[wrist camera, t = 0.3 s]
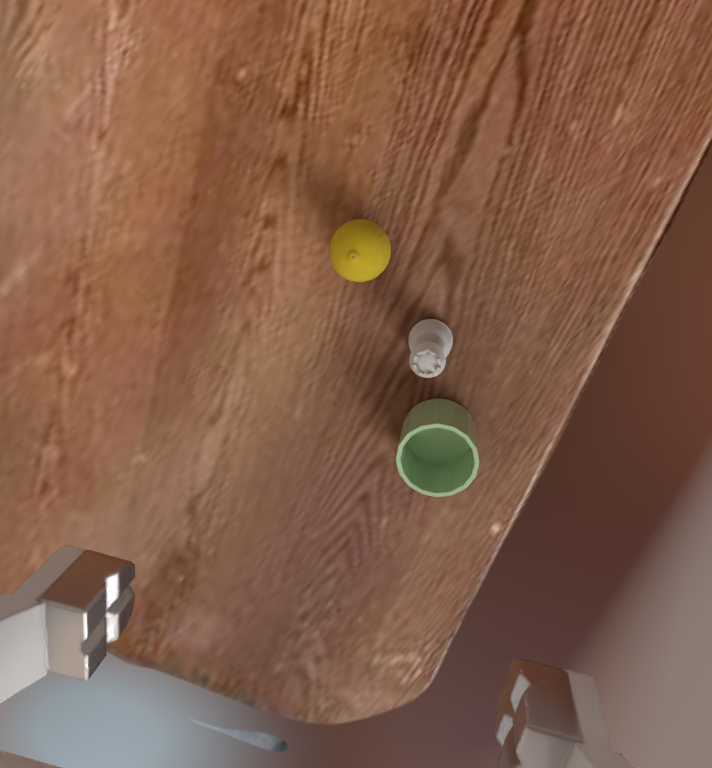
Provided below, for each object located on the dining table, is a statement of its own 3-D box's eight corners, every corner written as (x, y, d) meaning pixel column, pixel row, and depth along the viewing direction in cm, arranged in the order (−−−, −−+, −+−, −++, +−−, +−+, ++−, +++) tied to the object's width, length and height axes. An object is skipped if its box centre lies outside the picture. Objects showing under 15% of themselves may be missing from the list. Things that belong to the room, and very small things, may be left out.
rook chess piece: (451, 315, 57) (450, 337, 49) (454, 358, 58) (454, 385, 51) (406, 319, 58) (398, 342, 50) (411, 361, 59) (404, 389, 52)
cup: (409, 391, 60) (404, 416, 54) (484, 407, 60) (487, 434, 54) (396, 456, 63) (389, 486, 57) (466, 471, 63) (468, 504, 57)
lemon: (358, 284, 57) (344, 301, 50) (327, 236, 56) (308, 246, 49) (405, 253, 55) (398, 267, 48) (375, 203, 54) (361, 209, 47)
